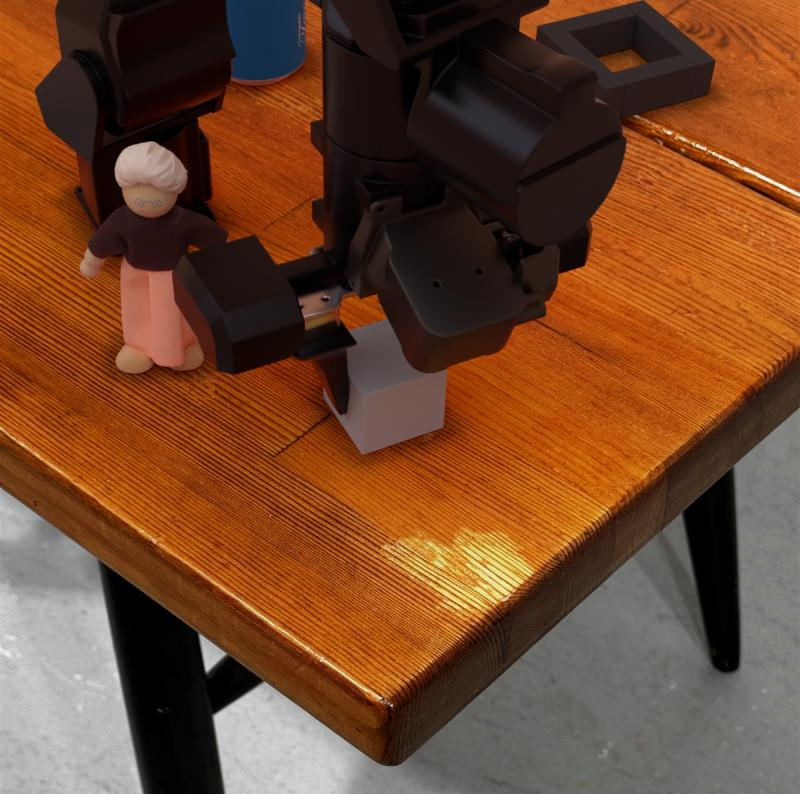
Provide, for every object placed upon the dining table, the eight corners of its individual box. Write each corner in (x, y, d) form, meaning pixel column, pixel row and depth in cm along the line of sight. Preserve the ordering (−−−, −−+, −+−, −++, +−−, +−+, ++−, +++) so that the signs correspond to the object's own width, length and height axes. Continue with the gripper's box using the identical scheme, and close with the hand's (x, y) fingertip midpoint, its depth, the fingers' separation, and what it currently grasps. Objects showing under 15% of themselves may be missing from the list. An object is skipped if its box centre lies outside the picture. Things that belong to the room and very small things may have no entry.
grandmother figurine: (102, 392, 73) (68, 182, 64) (91, 343, 76) (56, 134, 67) (252, 366, 75) (239, 158, 66) (236, 319, 77) (222, 112, 68)
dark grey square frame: (600, 124, 91) (605, 89, 89) (533, 60, 96) (536, 25, 94) (709, 94, 94) (716, 59, 92) (638, 33, 99) (643, -1, 97)
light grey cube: (362, 455, 71) (363, 396, 68) (323, 397, 73) (322, 338, 71) (443, 428, 72) (448, 368, 69) (402, 372, 75) (405, 312, 72)
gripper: (261, 296, 53) (275, 571, 64) (686, 171, 59) (630, 442, 70) (152, 137, 59) (182, 411, 71) (545, 39, 66) (514, 306, 77)
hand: (383, 395), depth 72 cm, fingers closed on light grey cube, 4 cm apart
